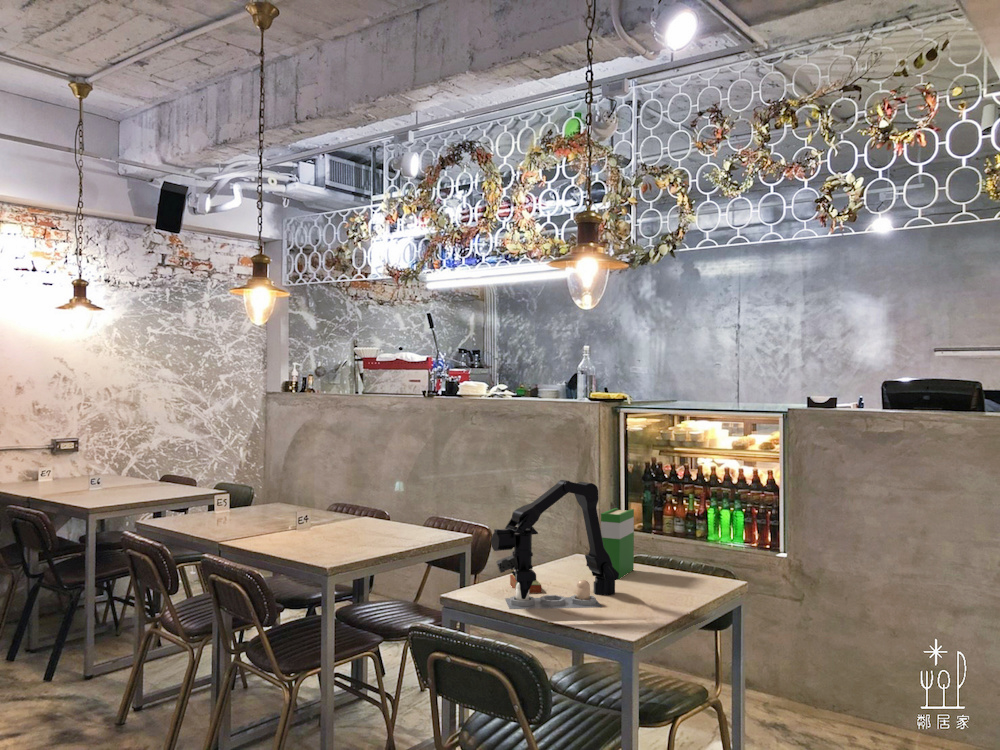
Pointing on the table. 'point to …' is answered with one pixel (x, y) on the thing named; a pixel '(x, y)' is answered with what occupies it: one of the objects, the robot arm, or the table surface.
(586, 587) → the brown egg
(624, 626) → the table surface
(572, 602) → the egg stand
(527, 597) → the cream egg
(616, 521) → the hardback book
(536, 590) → the carton
